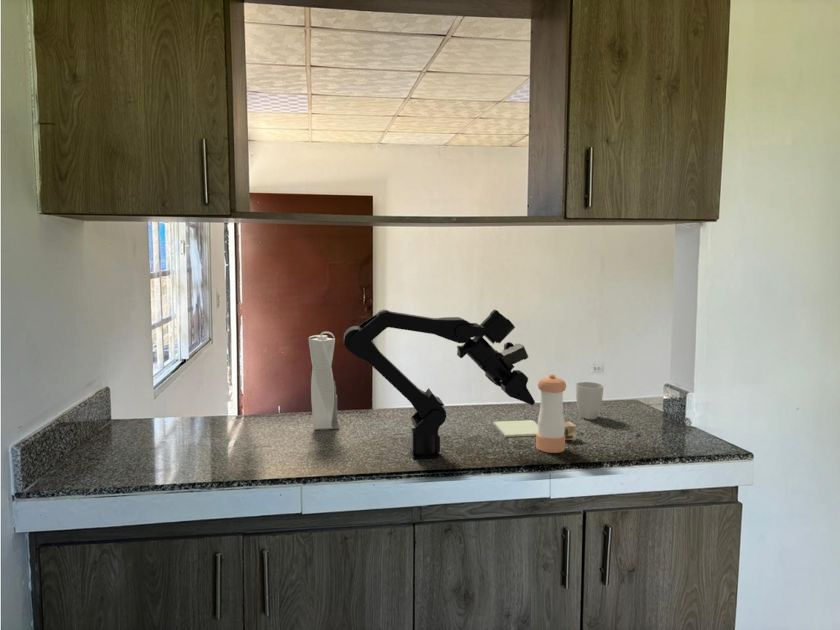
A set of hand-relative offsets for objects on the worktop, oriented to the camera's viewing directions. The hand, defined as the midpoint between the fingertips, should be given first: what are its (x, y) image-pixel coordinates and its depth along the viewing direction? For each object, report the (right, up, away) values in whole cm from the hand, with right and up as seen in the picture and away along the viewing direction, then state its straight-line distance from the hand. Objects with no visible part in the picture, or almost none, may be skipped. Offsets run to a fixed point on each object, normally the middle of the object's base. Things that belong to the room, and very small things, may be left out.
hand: (527, 398), depth 141 cm
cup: (+25, -10, +30) cm, 40 cm away
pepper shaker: (+6, -13, +2) cm, 15 cm away
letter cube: (+12, -12, +10) cm, 20 cm away
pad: (+1, -11, +18) cm, 21 cm away
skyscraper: (-55, -11, +18) cm, 59 cm away
